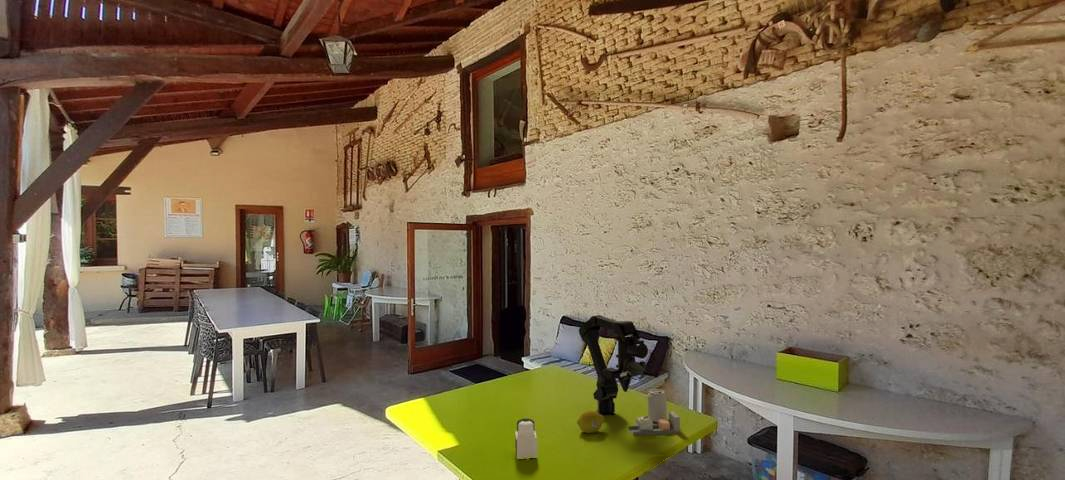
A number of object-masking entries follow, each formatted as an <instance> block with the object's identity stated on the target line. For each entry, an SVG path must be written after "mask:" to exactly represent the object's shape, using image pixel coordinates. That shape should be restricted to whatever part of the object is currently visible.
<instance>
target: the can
mask: <svg viewBox="0 0 1065 480" xmlns="http://www.w3.org/2000/svg"><path fill="white" fill-rule="evenodd" d="M667 401H668V397H667V394H666V393H665V390H663V389H659V388H658V389H657V388H654V389H653V388H652V389H649V390H648V393H647V416H648V417H649V418H650V419H651V420H652V421H653V423H657V424H659V423H658V419H666V420H667V421H668V411H667V410H668V406H667V405H668V404H667Z"/></svg>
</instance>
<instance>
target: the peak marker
mask: <svg viewBox="0 0 1065 480" xmlns="http://www.w3.org/2000/svg"><path fill="white" fill-rule="evenodd" d="M657 424H659V430H670V423H669V420H668V419H667V420H666V419H658V423H657Z"/></svg>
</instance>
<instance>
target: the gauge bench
mask: <svg viewBox="0 0 1065 480" xmlns="http://www.w3.org/2000/svg"><path fill="white" fill-rule="evenodd" d="M680 419H681V418H680V416H679V415H678V414H677V413H676V412H675V411H673V410H671V411H668V422H669V423H670V430H659V423H657V424H656V423H655V424H654V423H653V430H651V431H638V430H637V429H636V424H635V425H628V430H629V431H630V433H631V434H632V436H645V435H646V436H648V435H667V434H681V428H680V427H681V422H680V421H681V420H680Z"/></svg>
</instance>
